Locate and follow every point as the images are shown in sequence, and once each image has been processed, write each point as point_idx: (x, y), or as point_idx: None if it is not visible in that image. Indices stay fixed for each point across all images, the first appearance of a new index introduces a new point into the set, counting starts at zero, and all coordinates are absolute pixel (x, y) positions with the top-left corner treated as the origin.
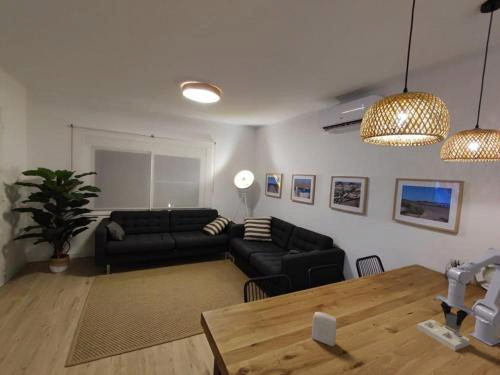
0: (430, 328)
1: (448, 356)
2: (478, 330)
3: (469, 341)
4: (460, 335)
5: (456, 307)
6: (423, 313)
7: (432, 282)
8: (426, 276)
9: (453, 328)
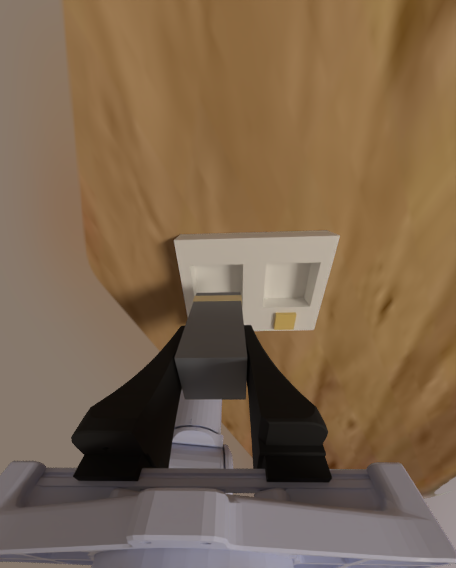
0: (287, 259)
1: (157, 162)
2: None
3: None
4: None
5: (118, 511)
6: (348, 347)
7: None
8: None
9: (201, 303)
